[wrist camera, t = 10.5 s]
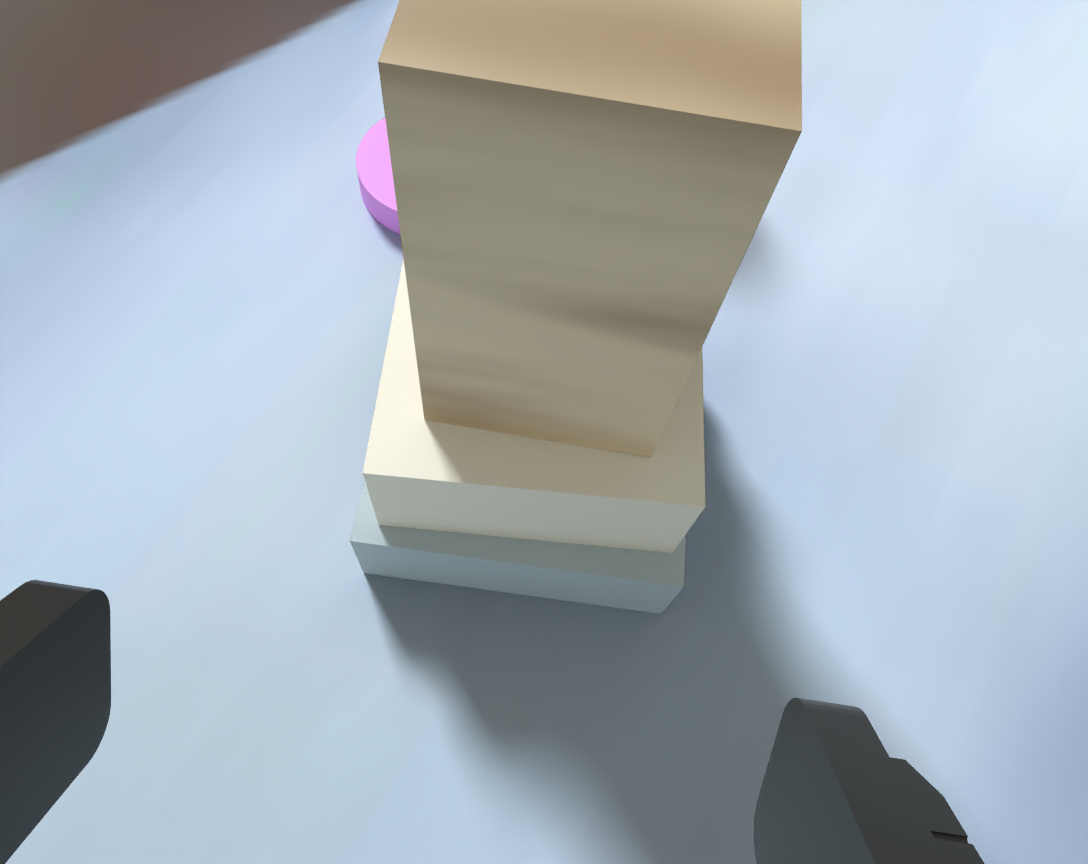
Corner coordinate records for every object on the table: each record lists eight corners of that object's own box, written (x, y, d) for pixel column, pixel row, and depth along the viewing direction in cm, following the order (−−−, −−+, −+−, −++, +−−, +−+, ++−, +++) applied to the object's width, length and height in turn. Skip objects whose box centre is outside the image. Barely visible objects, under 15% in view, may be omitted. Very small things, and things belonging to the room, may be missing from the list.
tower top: (420, 284, 25) (413, 207, 22) (672, 312, 26) (700, 239, 22) (378, 525, 22) (362, 473, 18) (672, 552, 22) (705, 506, 19)
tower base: (421, 333, 29) (414, 271, 25) (671, 368, 29) (695, 312, 26) (365, 577, 24) (349, 541, 21) (657, 618, 25) (683, 586, 21)
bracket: (597, 52, 35) (623, -115, 29) (678, 131, 33) (725, -29, 27) (334, 168, 31) (298, 3, 25) (410, 266, 29) (393, 113, 23)
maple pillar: (467, 242, 22) (459, -171, 13) (668, 275, 22) (800, -115, 13) (424, 420, 19) (378, 61, 10) (651, 457, 19) (801, 130, 10)
